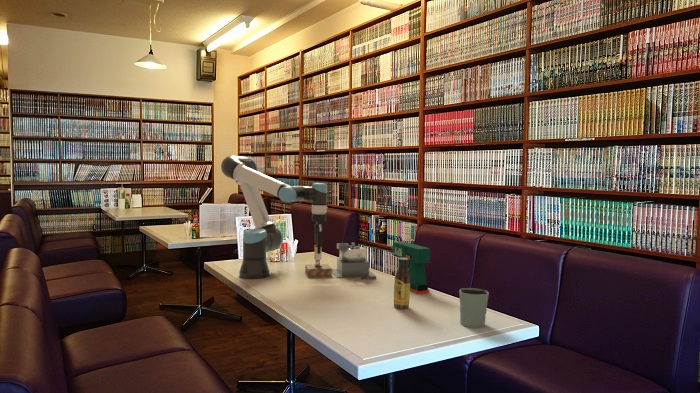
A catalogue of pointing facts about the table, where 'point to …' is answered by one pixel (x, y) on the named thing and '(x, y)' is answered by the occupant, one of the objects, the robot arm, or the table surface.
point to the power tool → (414, 264)
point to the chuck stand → (353, 270)
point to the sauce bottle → (402, 285)
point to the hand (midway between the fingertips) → (317, 258)
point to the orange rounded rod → (317, 263)
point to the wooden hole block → (318, 270)
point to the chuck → (351, 252)
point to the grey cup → (473, 307)
